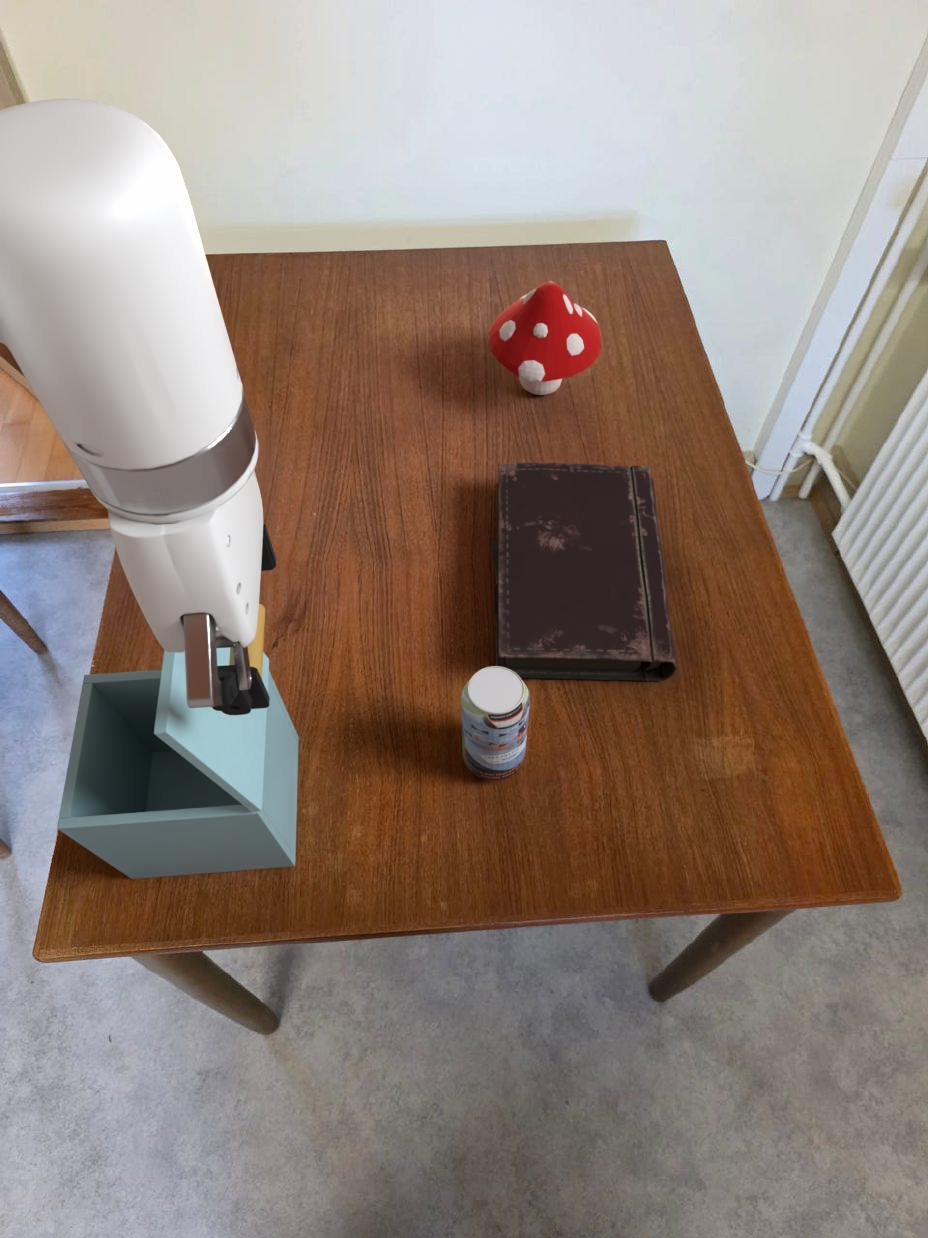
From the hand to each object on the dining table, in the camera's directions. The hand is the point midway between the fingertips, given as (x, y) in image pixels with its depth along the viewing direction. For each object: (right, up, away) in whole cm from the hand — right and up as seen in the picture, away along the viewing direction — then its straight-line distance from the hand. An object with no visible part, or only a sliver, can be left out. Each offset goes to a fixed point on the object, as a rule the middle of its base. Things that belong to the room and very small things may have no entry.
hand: (247, 632), depth 50 cm
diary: (+25, +5, +40) cm, 48 cm away
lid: (-4, -4, +7) cm, 9 cm away
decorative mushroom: (+23, +31, +55) cm, 68 cm away
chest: (-10, -17, +27) cm, 33 cm away
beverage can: (+16, -12, +30) cm, 36 cm away
